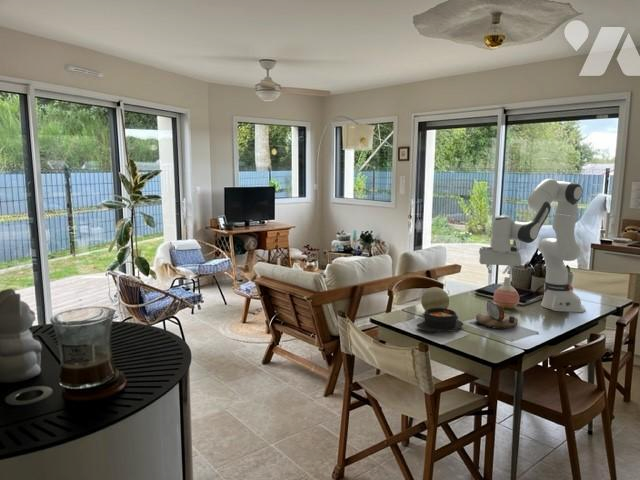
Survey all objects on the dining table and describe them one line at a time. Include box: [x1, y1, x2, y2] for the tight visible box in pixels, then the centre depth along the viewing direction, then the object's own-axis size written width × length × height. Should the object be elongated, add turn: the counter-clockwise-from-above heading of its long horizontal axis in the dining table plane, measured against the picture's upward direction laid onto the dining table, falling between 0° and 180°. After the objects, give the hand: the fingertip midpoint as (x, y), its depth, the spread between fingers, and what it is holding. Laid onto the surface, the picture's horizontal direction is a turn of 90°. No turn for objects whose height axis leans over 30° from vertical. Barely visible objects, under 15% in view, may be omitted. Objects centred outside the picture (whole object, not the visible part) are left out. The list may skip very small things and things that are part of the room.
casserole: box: [416, 308, 464, 333], centre depth 241 cm, size 25×19×8 cm
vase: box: [493, 276, 520, 310], centre depth 273 cm, size 14×14×18 cm
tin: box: [486, 299, 505, 321], centre depth 246 cm, size 15×3×8 cm, turn 7°
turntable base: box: [487, 325, 508, 329], centre depth 247 cm, size 14×14×2 cm
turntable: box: [475, 311, 518, 328], centre depth 247 cm, size 20×20×4 cm
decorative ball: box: [420, 286, 450, 311], centre depth 262 cm, size 15×15×15 cm
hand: (499, 273), depth 250 cm, fingers open, 8 cm apart
